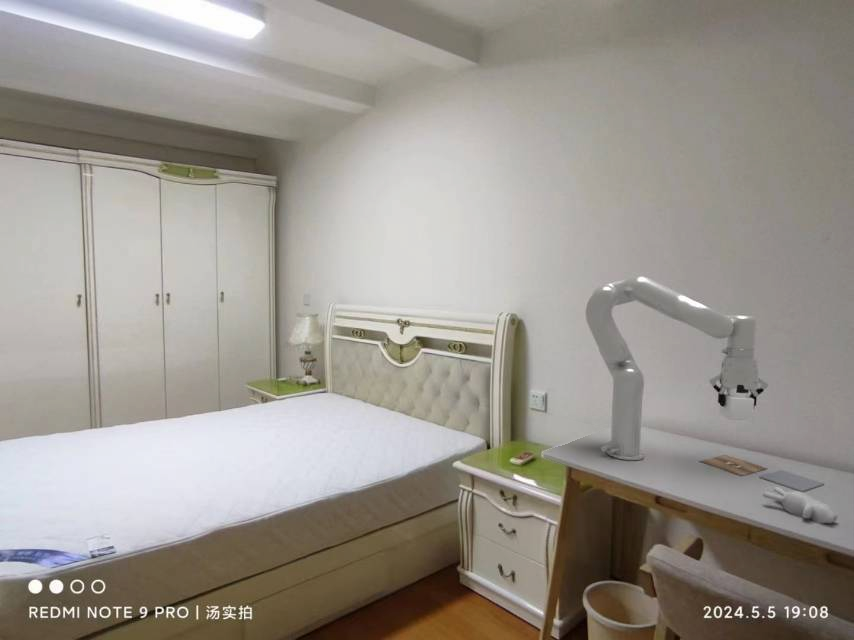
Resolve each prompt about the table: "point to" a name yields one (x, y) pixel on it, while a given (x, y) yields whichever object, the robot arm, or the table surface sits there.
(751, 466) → the tile
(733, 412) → the medicine bottle
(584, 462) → the table surface
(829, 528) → the table surface
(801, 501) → the bunny figurine
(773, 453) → the table surface
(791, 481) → the grey mat
